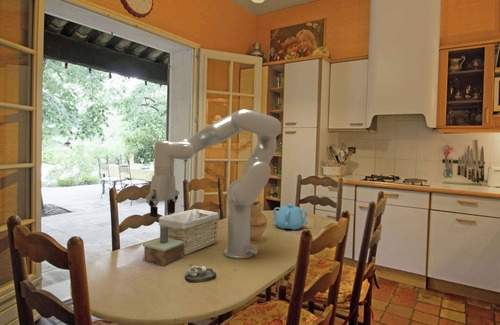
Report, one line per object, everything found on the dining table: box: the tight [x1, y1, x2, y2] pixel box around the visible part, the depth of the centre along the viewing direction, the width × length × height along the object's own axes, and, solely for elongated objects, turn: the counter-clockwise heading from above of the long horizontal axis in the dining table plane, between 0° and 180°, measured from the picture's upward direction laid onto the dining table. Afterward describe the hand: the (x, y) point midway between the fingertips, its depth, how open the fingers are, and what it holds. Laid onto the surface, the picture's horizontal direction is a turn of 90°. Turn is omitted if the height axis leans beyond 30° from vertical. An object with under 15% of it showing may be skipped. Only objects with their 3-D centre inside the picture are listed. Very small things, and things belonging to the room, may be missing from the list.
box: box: [143, 244, 184, 267], centre depth 129 cm, size 11×11×6 cm
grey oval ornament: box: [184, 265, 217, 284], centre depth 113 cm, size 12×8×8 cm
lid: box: [142, 227, 185, 251], centre depth 128 cm, size 11×11×8 cm
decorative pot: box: [272, 203, 308, 231], centre depth 182 cm, size 16×16×14 cm
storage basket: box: [158, 208, 220, 256], centre depth 145 cm, size 24×16×15 cm
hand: (162, 214), depth 128 cm, fingers open, 9 cm apart
